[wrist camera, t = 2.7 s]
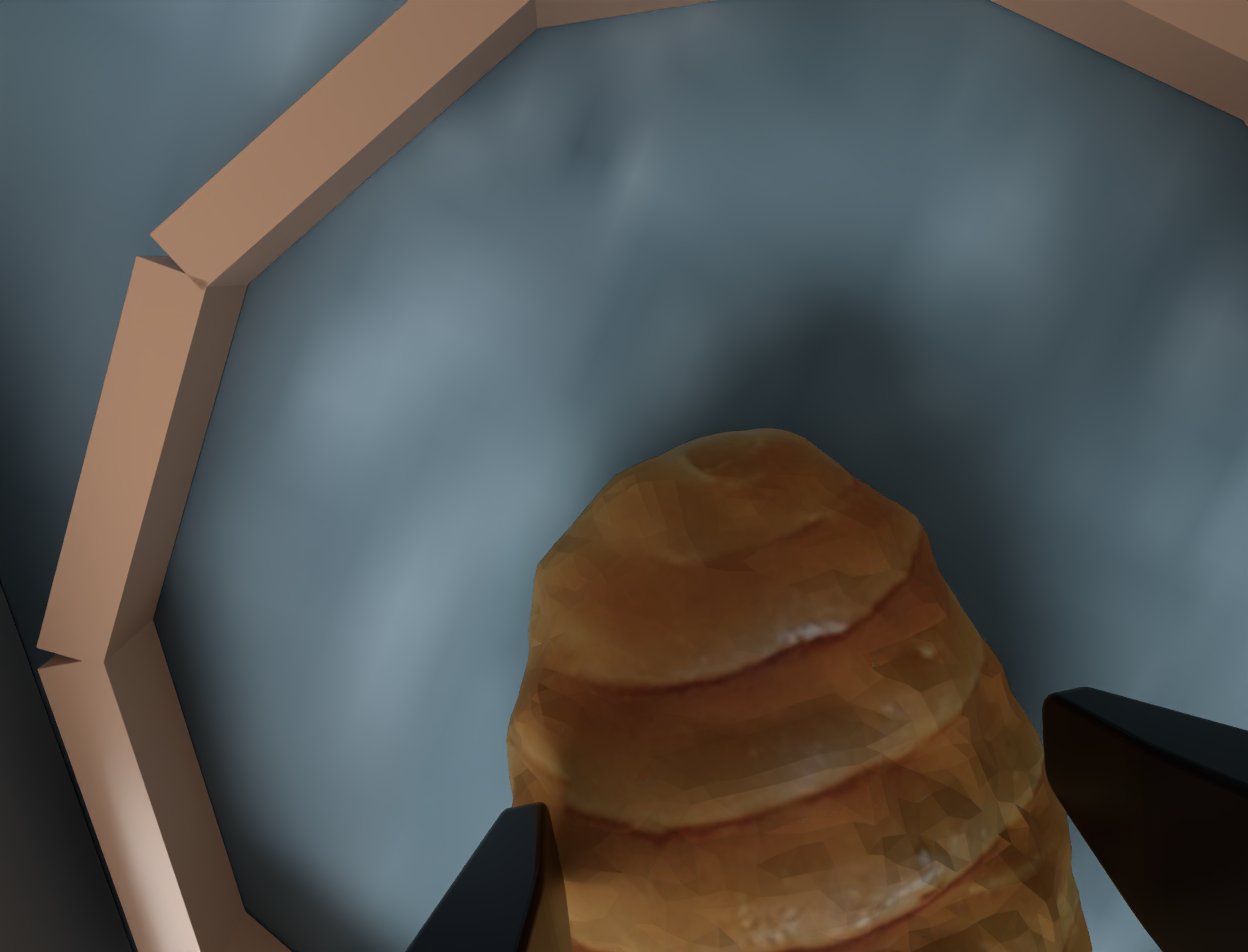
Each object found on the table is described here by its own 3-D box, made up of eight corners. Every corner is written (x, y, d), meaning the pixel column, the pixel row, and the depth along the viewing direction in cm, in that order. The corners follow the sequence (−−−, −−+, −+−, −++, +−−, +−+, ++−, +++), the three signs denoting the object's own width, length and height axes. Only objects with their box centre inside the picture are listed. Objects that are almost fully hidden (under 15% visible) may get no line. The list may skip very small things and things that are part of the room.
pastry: (413, 480, 10) (313, 595, 7) (969, 364, 10) (1178, 416, 7) (580, 1100, 13) (573, 1447, 9) (1043, 1009, 12) (1232, 1323, 9)
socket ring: (1494, -191, 10) (1623, -256, 8) (1403, 1058, 14) (1479, 1130, 13) (-97, 54, 9) (-194, 22, 8) (312, 1279, 13) (289, 1375, 12)
